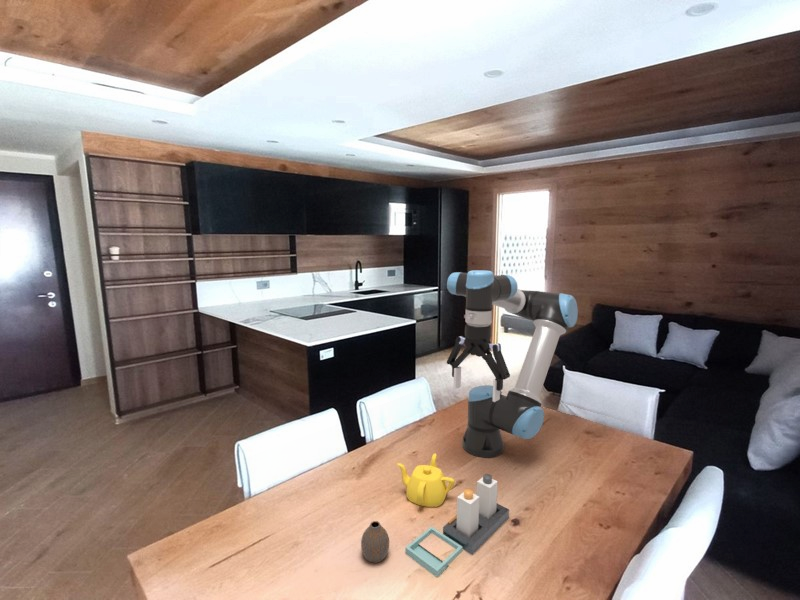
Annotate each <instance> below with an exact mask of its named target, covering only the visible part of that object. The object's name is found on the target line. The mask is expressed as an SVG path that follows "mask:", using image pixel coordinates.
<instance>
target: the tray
mask: <svg viewBox="0 0 800 600" xmlns="http://www.w3.org/2000/svg"><path fill="white" fill-rule="evenodd" d="M431 534H433V535H435V536H436V537H437V538H439V539H440V540H442V541H443V542H445V543H446V544H448V545H449V546H450V547H453V548H454V549H455V550H454V551H452V552H451V553H450V554H449V556H447V557H446V558H445V559H444V560H442V559H440V558H439V557H437V556H436V555H435V554H433V553H432V552H430V550H428V549H426V548H425V547H424V546H422V545H421V544H420V543H421V542H422V541H424V540H425V539H426V538H427V537H428V536H429V535H431ZM463 550H464V549H463V547H462V546H461V545H459V544H458V543H456V542H454V541H453V540H451V539H450V538H448V537H447V536H445V535H444V534H443V532H440V531H439V530H437V529H436V528H435V527H433V526H430V527H428V529H426V530H425V531H424V532H423V533H421V534H420V535H419V536H418V537H417V538H415V539H414V540H412V542H410V543H409V544H408V545H406V546H405V550H404V553H405V554H406V555H407V556H408V557H409V558H411V559H412V560H414V561H415V562H416V563H418V564H419V565H420V566H422V567H423V568H424V569H425V570H427V572H429V573H430V574H431V575H434V577H436V578H438V577H440V575H442V573H444V571H446V569H448V568H449V566H450V565H449V564H450V563H452V562H453V560H455V558H456V557H457V556H459V555H460V554H461V553H462V552H463Z"/></svg>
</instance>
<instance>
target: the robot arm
mask: <svg viewBox="0 0 800 600" xmlns="http://www.w3.org/2000/svg"><path fill="white" fill-rule="evenodd" d="M446 282H447V283H446V288H447V291H448V292H449V293H450V294H451V295H456V296H463V297H465V319H464V320H465V323H466V324H465V325H464V336H463V335H460V336H456V338H455V344H454V346H453V348H452V350H451V352H450V354H449V356H448V358H447V360H446V364H447V365H450V366H451V376H452V378H453V389H454V390H457V389H459V388H461V386H462V384H461V382H462V366H460V365H461V364H462V363H463V361H465V360H466V358H467V357H468V356H469V355H471V356H476V357H481V358H482V360H484V361H485V363H486V364H487V366H488V367H489V369H490V371H491V373H492V374H493V376H494V378H493V381H492V382H493V383H492V385H489V384H488V385H487V384H486V385H477V386H474V387H473V388H471V389H470V390H469V392H468V399H467V404H468V405H467V408H468V409H467V427H466V429H465V432H464V434H463V437H462V448H463V450H464V451H466V452H467V453H468V454H470V455H473V456H475V457H481V458H495V457H497V456H500V455H501V454H502V453H503V452H504V444H505V443H504V441H503V436H502V433H501V431H503V432H505V433H508V434H511V435H512V436H514V437H516V438H521V439H524V440H529V439H532V438H534V437H535V436H536V435H537V434H538V433H539V431H540V430H541V429H542V426H543V424H544V421H545V418H544V417H545V411H544V409H543V408H542V404H543V403H542V401H541V399H540V395H541V392H542V389H543V385H544V383H545V380H546V377H547V374H548V371H549V369H550V366H551V362H552V359H553V357H554V355H555V351H556V348H557V345H558V342H559V339H560V336H562V335H565V334H566V333H567V331H568V330H567V329H568V328H573V327H575V325H576V324H577V321H578V315H579V313H578V312H579V311H578V310H579V309H578V308H579V307H578V304H577V299H576V298H575V297H574V296H573V295H571V294H566V293H561V292H548V291H540V290H526V289H525V290H524V289H523V290H522V289H519V288H518V282H517V281H516V279H515V278H514V277H513V276H512V275H509V274H499V275H497V274H496V275H494V272H493V271H491V270H486V269H485V270H484V269H482V270H481V269H480V270H478V269H477V270H473V269H472V270H470V271H468V272H462V271H460V272H459V271H458V272H457V271H456V272H452V273H451V274H449V275H448V278H447V281H446ZM493 306H495V307H498V308H500V309H501V308H502V309H504V310H505V311H506V312H507V313H510V314H512V315H515V316H518V317H521V318H522V319H525V320H528V321H531V322H532V323H533V325H534V327H535V329H534V332H533V336H532V338H531V340H530V344H529V346H528V349H527V351H526V354H525V358H524V360H523V363H522V365H521V369H520V371H519V374H518V377H517V380H516V382H515V386H514V388H512V389H509V390H508V392H507V394H506V395H503V394H502V392H503V391H502V390H503V389H504V381H505V380H506V379H509V378H510V377H511V374H510V372H509V371H510V370H509V369H508V366H507V364H506V361H505V359H504V355H503V352H502V347H501V345H502V344H500V343H491V339H492V325H491V324H492V322H493V321H492V317H493ZM464 345H465V348H464V350H462V352H461V353H460V351H461V349H462V347H463V346H464ZM490 349H491V350H490ZM459 353H460V354H459ZM458 355H459V356H458Z"/></svg>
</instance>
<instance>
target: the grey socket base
mask: <svg viewBox="0 0 800 600" xmlns="http://www.w3.org/2000/svg"><path fill="white" fill-rule="evenodd" d="M508 519H510V509H509V508H507V507H505V506H503V505H501V504H499V503H498V502H497V508H496V514H495V515H494V516H493V517H492V518H491V519H490V520H489V519H487V518H486V517H484V516H482V515H480V514H479V521H478V531H477V532H476V533H475V534H474V535H473V536H472V537H471V538H470V537H468V536H466V535H465V534H463V533H462V532H460V531H458V530H457V529H456V528H457V514H455V516H454V517H453V518H452V519H450V520H449V521H448V522H447V523H446V524H445V525H443V527H442V534H444V535H445V536H447V537H448V538H450V539H451V540H453V541H454V542H456V543H458V544H459V545H461V546H462V547H463V550H464V551H465V552H467V553H469V554H470V555H471V556H473V555H474V554H475V553H476V552H477V551H478V550H479V549H480V548H481V547H482V546H483V545H484V544H485V543H486V541H487V540H488V539H489V538H491V537H492V535H493V534H495V532H497V530H498V529H499V528H501V526H502V525H504V524H505V522H507V520H508Z"/></svg>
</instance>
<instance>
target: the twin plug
mask: <svg viewBox="0 0 800 600" xmlns="http://www.w3.org/2000/svg"><path fill="white" fill-rule="evenodd" d="M498 483H499V482H498V481H497V480H495V479H493V475H492V474H489V473H484V474H483V475H482V477H481V478H480V479H478V480H477V481H476V495H477V496H479V514H480V515H482V516H484V517H486V518H487V519H489V520H490V519H491V518H492V517H493V516H494V515H495V514H496V508H497V503H498Z"/></svg>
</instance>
